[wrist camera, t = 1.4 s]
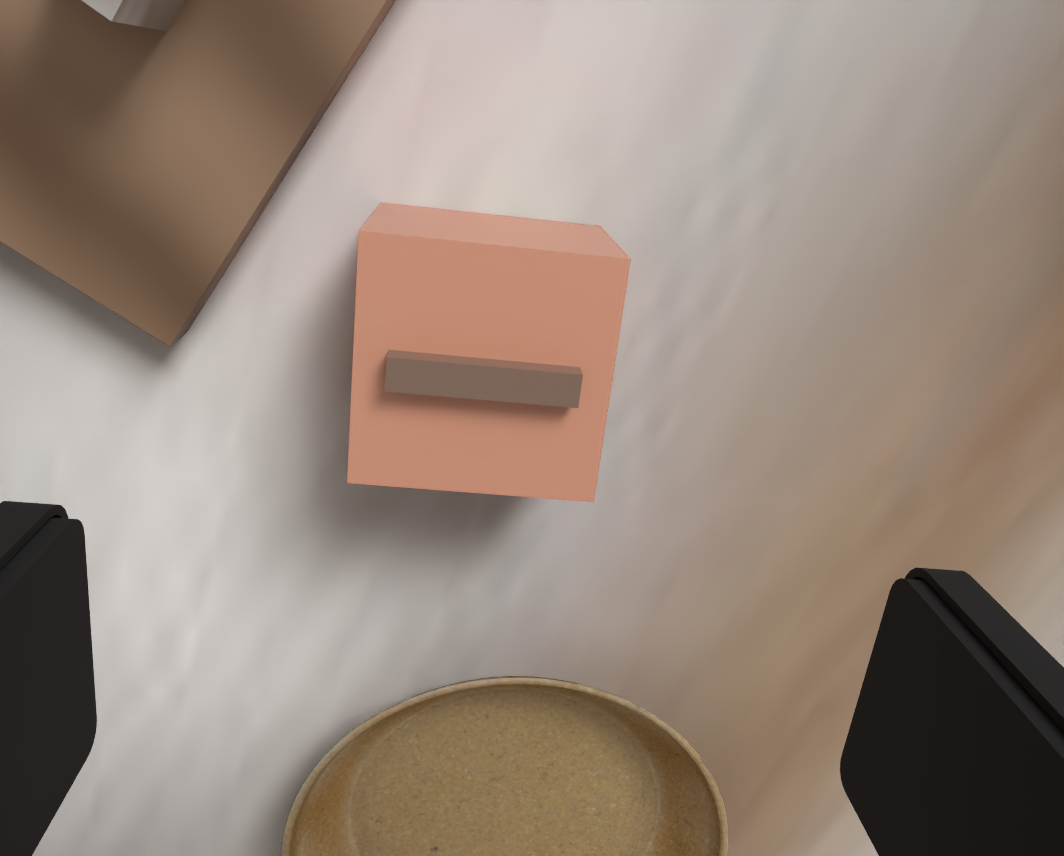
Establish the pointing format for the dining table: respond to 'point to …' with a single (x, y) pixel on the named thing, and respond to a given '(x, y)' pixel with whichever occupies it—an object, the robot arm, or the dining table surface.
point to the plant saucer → (510, 779)
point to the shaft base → (159, 135)
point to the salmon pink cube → (483, 352)
